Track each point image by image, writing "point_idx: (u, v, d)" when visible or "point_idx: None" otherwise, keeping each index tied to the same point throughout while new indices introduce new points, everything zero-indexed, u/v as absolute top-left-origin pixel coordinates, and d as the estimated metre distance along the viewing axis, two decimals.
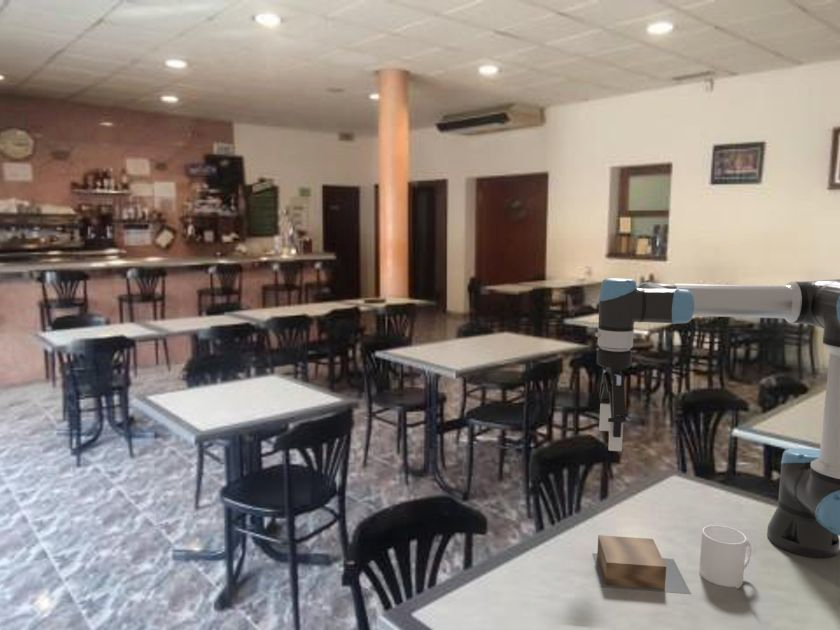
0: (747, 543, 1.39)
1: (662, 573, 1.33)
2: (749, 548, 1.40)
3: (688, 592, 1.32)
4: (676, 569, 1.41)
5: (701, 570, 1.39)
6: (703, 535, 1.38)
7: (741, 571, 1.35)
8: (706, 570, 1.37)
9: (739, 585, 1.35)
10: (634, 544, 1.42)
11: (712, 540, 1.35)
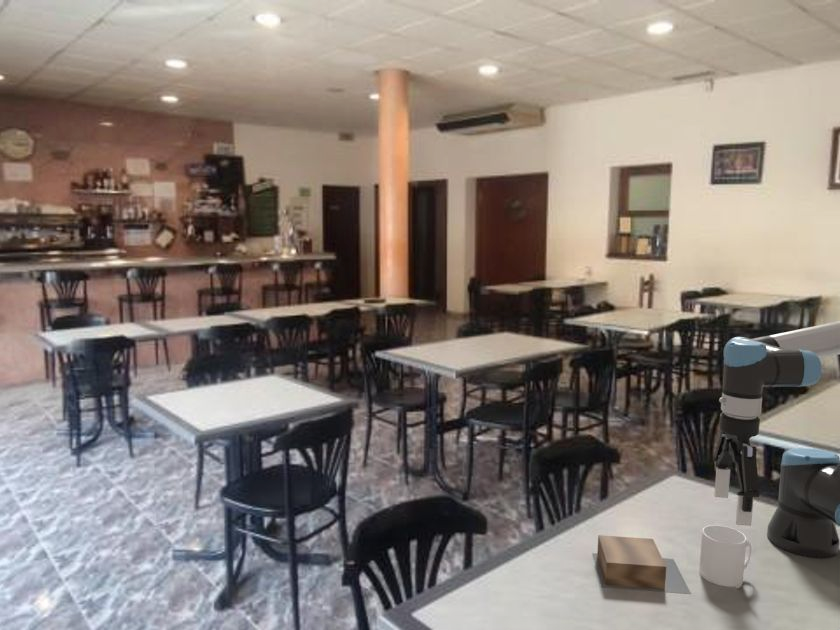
0: (747, 543, 1.39)
1: (662, 573, 1.33)
2: (749, 548, 1.40)
3: (688, 592, 1.32)
4: (676, 569, 1.41)
5: (701, 570, 1.39)
6: (703, 535, 1.38)
7: (741, 571, 1.35)
8: (706, 570, 1.37)
9: (739, 585, 1.35)
10: (634, 544, 1.42)
11: (712, 540, 1.35)
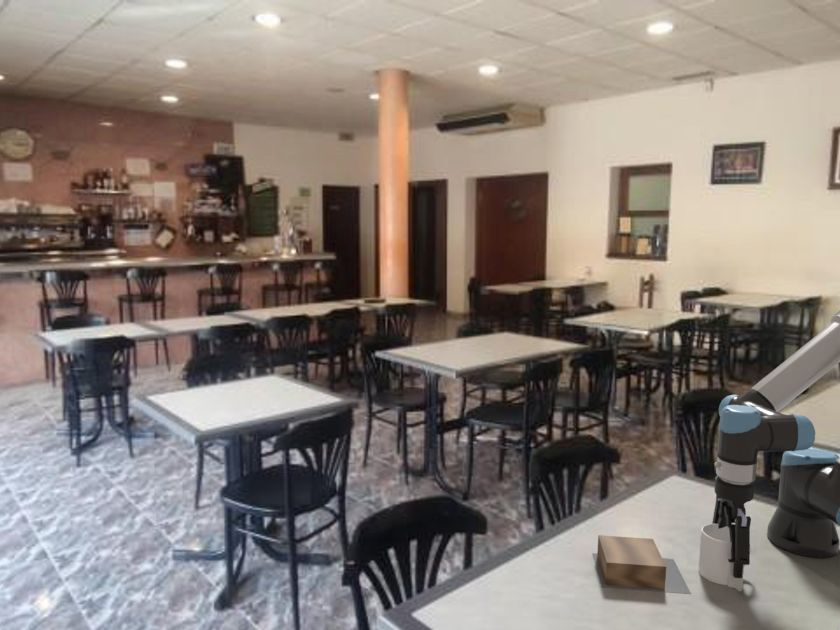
0: None
1: (662, 573, 1.33)
2: None
3: (688, 592, 1.32)
4: (676, 569, 1.41)
5: (700, 568, 1.39)
6: (702, 534, 1.38)
7: None
8: (705, 568, 1.37)
9: None
10: (634, 544, 1.42)
11: (711, 539, 1.36)
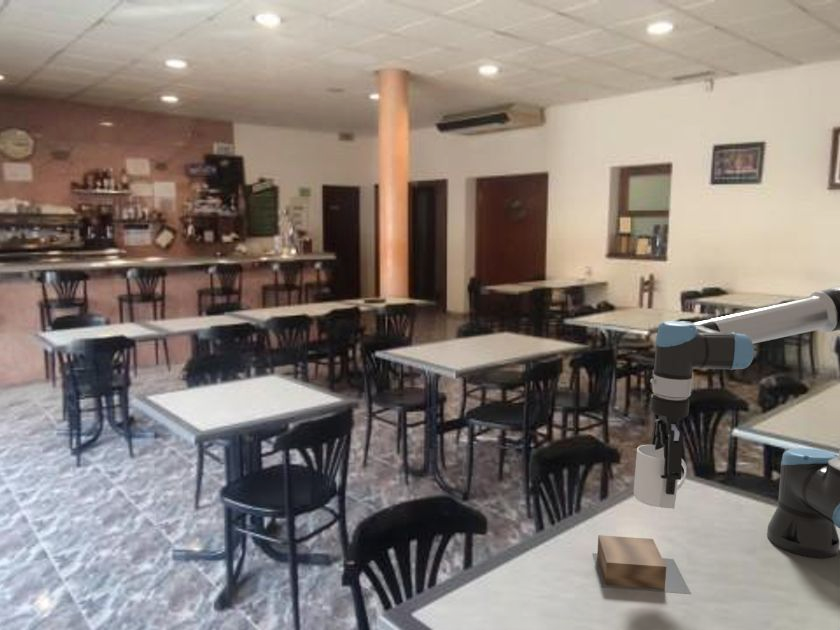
0: (682, 462, 1.37)
1: (662, 573, 1.33)
2: (684, 468, 1.38)
3: (688, 592, 1.32)
4: (676, 569, 1.41)
5: (635, 488, 1.37)
6: (637, 452, 1.36)
7: None
8: (639, 487, 1.35)
9: None
10: (634, 544, 1.42)
11: (645, 456, 1.34)
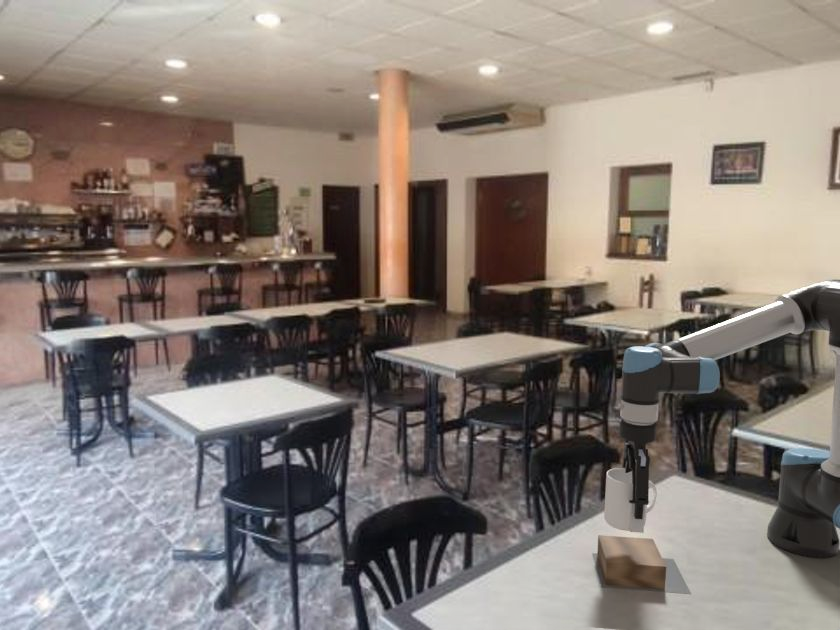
0: (651, 485, 1.38)
1: (662, 573, 1.33)
2: (654, 490, 1.39)
3: (688, 592, 1.32)
4: (676, 569, 1.41)
5: (605, 512, 1.38)
6: (606, 476, 1.37)
7: None
8: (609, 511, 1.36)
9: None
10: (634, 544, 1.42)
11: (613, 480, 1.35)
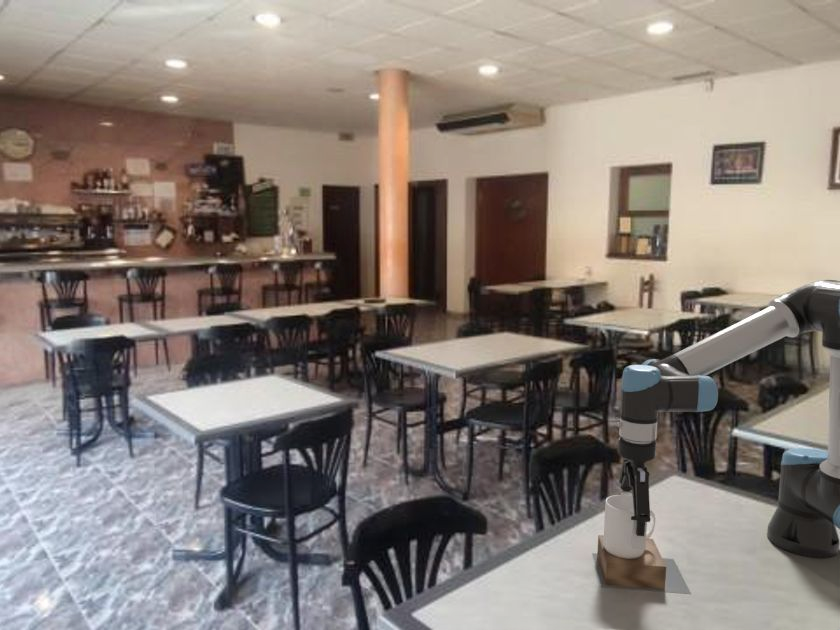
0: (650, 512, 1.39)
1: (662, 573, 1.33)
2: (653, 518, 1.40)
3: (688, 592, 1.32)
4: (676, 569, 1.41)
5: (604, 539, 1.39)
6: (606, 504, 1.38)
7: None
8: (608, 539, 1.37)
9: (639, 553, 1.36)
10: None
11: (613, 508, 1.36)
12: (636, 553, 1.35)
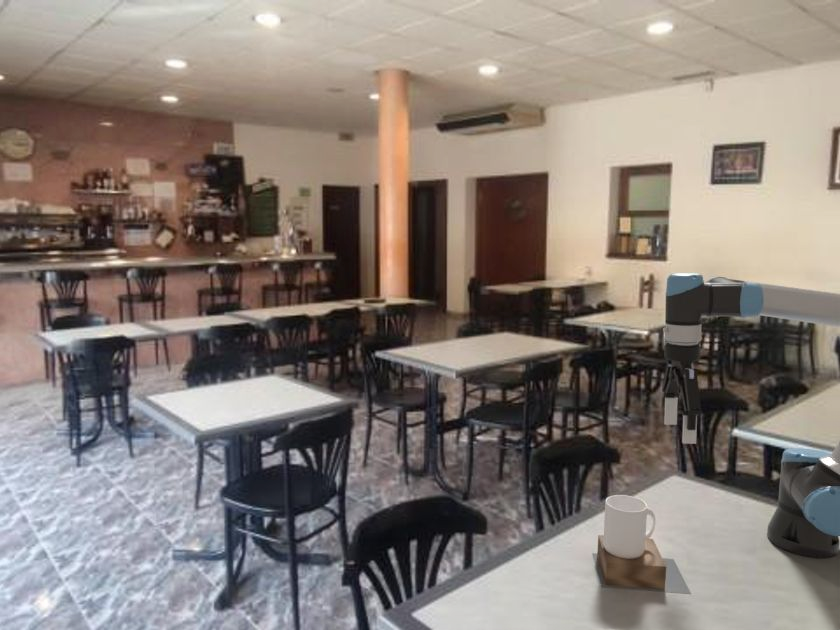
0: (650, 512, 1.39)
1: (662, 573, 1.33)
2: (653, 518, 1.40)
3: (688, 592, 1.32)
4: (676, 569, 1.41)
5: (604, 539, 1.39)
6: (605, 504, 1.38)
7: (641, 539, 1.35)
8: (608, 539, 1.37)
9: (639, 553, 1.36)
10: None
11: (612, 508, 1.36)
12: (636, 553, 1.35)
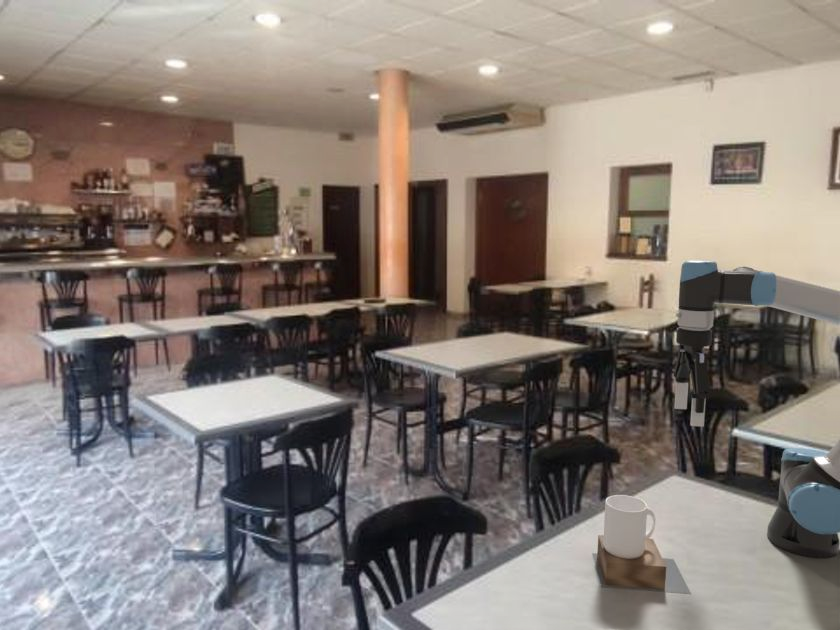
0: (650, 512, 1.39)
1: (662, 573, 1.33)
2: (653, 518, 1.40)
3: (688, 592, 1.32)
4: (676, 569, 1.41)
5: (604, 539, 1.39)
6: (605, 504, 1.38)
7: (641, 539, 1.35)
8: (608, 539, 1.37)
9: (639, 553, 1.36)
10: None
11: (612, 508, 1.36)
12: (636, 553, 1.35)
